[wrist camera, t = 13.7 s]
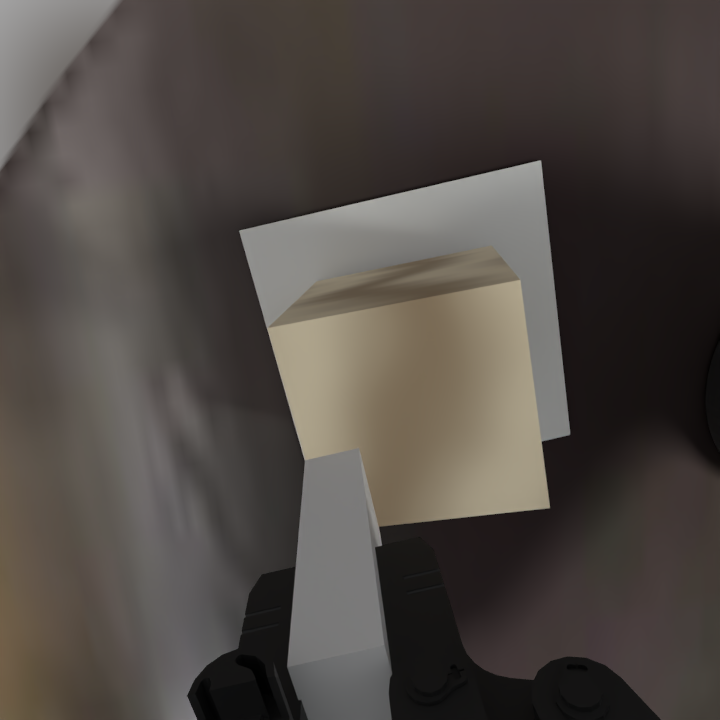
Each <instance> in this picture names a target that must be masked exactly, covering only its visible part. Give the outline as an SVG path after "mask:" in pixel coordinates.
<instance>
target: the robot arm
mask: <svg viewBox="0 0 720 720" xmlns="http://www.w3.org/2000/svg"><path fill="white" fill-rule="evenodd" d="M706 415H707V421H708V426H709V430H710V433H711V436H712V439H713V441H714V443H715V445H716V447H717V449H718V451H719V453H720V340H719V342H718V344H717V347H716V349H715V352H714V355H713V358H712V361H711V364H710V368H709V372H708V378H707V385H706ZM245 615H246V618H244V623H243V628H242V635H241V638H240V643H239V648H238V649H236V650H234V651H231V652H229V653H226V654H223V655H221V656H220V657H219V658H217V659H216V660H214V661H213V662H211V663H210V664H209V665H207V666H206V667H205V669H204V670H203V671H202V672H201V673H200V674H199V675H198V677H197V678H196V679H195V680H194V682H193V684H192V687H191V689H190V691H189V693H188V695H187V696H188V699H189V701H190V703H191V706H192V708H193V710H194V713H195V715H196V717H197V720H661V719H660V718H659V717H658V716H657V715H656V714H655V713H654V712H653V711H652V710H651V709H650V708H649V707H648V706H647V705H646V704H645V703H644V702H643V700H642V699H641V698H640V697H639V696H638V695H637V694H636V693H635V692H634V691H633V690H632V689H631V688H630V687H629V686H628V685H627V684H626V682H625V681H624V680H623V679H622V678H621V677H619V676H618V675H617V674H616V673H614V672H613V671H612V670H610V669H609V668H608V667H607V666H605V665H603V664H601V663H598V662H595V661H593V660H590V659H588V658H580V657H564V658H560V659H557V660H553V661H550V662H549V663H548V664H546V665H545V666H544V667H543V668H541V669H540V670H539V671H538V673H537V675H536V677H535V679H534V680H526V679H515V678H507V677H502V676H497V675H495V674H492V673H490V672H488V671H485V670H484V669H482V668H481V667H480V666H478V665H477V664H475V663H474V662H473V661H472V659H471V658H470V657H469V656H468V655H467V653H466V651H465V649H464V647H463V645H462V642H461V639H460V635H459V632H458V629H457V625H456V622H455V619H454V615H453V612H452V609H451V606H450V602H449V599H448V596H447V592H446V589H445V587H444V583H443V579H442V576H441V573H440V570H439V566H438V563H437V560H436V556H435V553H434V550H433V549H432V548H431V547H430V546H429V545H428V544H427V543H425V542H424V541H423V540H422V539H421V538H420V537H418V538H413V539H409V540H404V541H400V542H396V543H391V544H387V545H382V542H381V536H380V531H379V526H378V522H377V518H376V514H375V510H374V506H373V502H372V498H371V494H370V490H369V486H368V482H367V478H366V474H365V470H364V466H363V462H362V458H361V454H360V450H359V448H357V449H352V450H348V451H344V452H339V453H335V454H331V455H326V456H322V457H318V458H313V459H309V460H305V467H304V478H303V490H302V501H301V513H300V525H299V536H298V548H297V559H296V567H293V568H289V569H284V570H280V571H276V572H271V573H267V574H262V575H261V577H260V578H259V580H258V581H257V583H256V584H255V586H254V587H253V589H252V590H251V592H250V593H249V598H248V603H247V608H246V613H245Z"/></svg>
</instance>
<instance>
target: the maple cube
mask: <svg viewBox="0 0 720 720" xmlns="http://www.w3.org/2000/svg"><path fill="white" fill-rule="evenodd" d="M267 329H268V332H269V336H270V339H271V343H272V346H273V350H274V353H275V356H276V360H277V363H278V367H279V370H280V374H281V377H282V381H283V384H284V388H285V391H286V395H287V398H288V402H289V405H290V408H291V412H292V415H293V419H294V422H295V426H296V429H297V433H298V436H299V440H300V443H301V447H302V450H303V454H304V457H305V460H309V459H313V458H318V457H322V456H326V455H331V454H335V453H339V452H344V451H348V450H352V449H357V448H359V450H360V454H361V458H362V462H363V466H364V470H365V474H366V478H367V482H368V486H369V490H370V494H371V498H372V502H373V506H374V510H375V514H376V518H377V522H378V526H379V527H381V526H390V525H399V524H408V523H417V522H427V521H436V520H445V519H454V518H463V517H473V516H482V515H491V514H500V513H510V512H519V511H528V510H537V509H546V508H550V504H549V496H548V488H547V480H546V473H545V465H544V457H543V450H542V442H541V434H540V427H539V419H538V411H537V404H536V396H535V388H534V381H533V373H532V365H531V358H530V350H529V342H528V335H527V327H526V319H525V312H524V304H523V296H522V289H521V281H520V279H519V278H518V276H517V275H516V274H515V273H514V272H513V270H512V269H511V268H510V267H509V266H508V264H507V263H506V262H505V261H504V260H503V258H502V257H501V256H500V255H499V254H498V252H497V251H496V250H495V249H494V248H493V246H487V247H482V248H477V249H472V250H467V251H462V252H458V253H453V254H448V255H443V256H438V257H433V258H428V259H423V260H419V261H414V262H409V263H404V264H399V265H394V266H389V267H384V268H380V269H375V270H370V271H365V272H360V273H355V274H350V275H345V276H341V277H336V278H331V279H326V280H321V281H316V282H315V283H314V284H313V285H312V286H311V287H310V288H309V289H308V290H307V291H306V292H305V293H304V294H303V295H302V296H301V297H300V298H299V299H297V300H296V301H295V302H294V303H293V304H292V305H291V306H290V307H289V308H288V309H287V310H286V311H285V312H284V313H283V314H282V315H281V316H280V317H279V318H277V319H276V320H275V321H274V322H273V323H272V324H271V325H270V326H269V327H268V328H267Z"/></svg>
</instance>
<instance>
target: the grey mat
mask: <svg viewBox="0 0 720 720" xmlns="http://www.w3.org/2000/svg"><path fill="white" fill-rule="evenodd" d="M239 232H240V236H241V239H242V243H243V246H244V250H245V253H246V257H247V260H248V264H249V267H250V271H251V274H252V278H253V281H254V285H255V288H256V292H257V295H258V299H259V302H260V306H261V309H262V313H263V316H264V320H265V323H266V327H267V328H268V327H269V326H270V325H271V324H272V323H273V322H274V321H275V320H276V319H277V318H279V317H280V316H281V315H282V314H283V313H284V312H285V311H286V310H287V309H288V308H289V307H290V306H291V305H292V304H293V303H294V302H295V301H296V300H297V299H299V298H300V297H301V296H302V295H303V294H304V293H305V292H306V291H307V290H308V289H309V288H310V287H311V286H312V285H313V284H314V283H315V282H316V281H321V280H326V279H331V278H336V277H341V276H345V275H350V274H355V273H360V272H365V271H370V270H375V269H380V268H384V267H389V266H394V265H399V264H404V263H409V262H414V261H419V260H423V259H428V258H433V257H438V256H443V255H448V254H453V253H458V252H462V251H467V250H472V249H477V248H482V247H487V246H493V248H494V249H495V250H496V251H497V252H498V254H499V255H500V256H501V257H502V258H503V260H504V261H505V262H506V263H507V264H508V266H509V267H510V268H511V269H512V270H513V272H514V273H515V274H516V275H517V276H518V278H519V279H520V281H521V289H522V296H523V304H524V312H525V319H526V327H527V335H528V342H529V350H530V358H531V365H532V373H533V381H534V388H535V396H536V404H537V411H538V419H539V427H540V434H541V442H542V441H546V440H550V439H555V438H559V437H563V436H568V435H570V426H569V417H568V407H567V398H566V389H565V379H564V370H563V361H562V352H561V342H560V333H559V324H558V314H557V305H556V296H555V286H554V277H553V268H552V258H551V249H550V240H549V230H548V221H547V212H546V202H545V193H544V184H543V174H542V165H541V160H540V161H536V162H531V163H527V164H523V165H518V166H514V167H510V168H506V169H501V170H497V171H493V172H488V173H484V174H480V175H475V176H471V177H467V178H463V179H458V180H454V181H450V182H445V183H441V184H437V185H433V186H428V187H424V188H420V189H415V190H411V191H407V192H403V193H398V194H394V195H390V196H385V197H381V198H377V199H373V200H368V201H364V202H360V203H355V204H351V205H347V206H343V207H338V208H334V209H330V210H325V211H321V212H317V213H313V214H308V215H304V216H300V217H295V218H291V219H287V220H282V221H278V222H274V223H270V224H265V225H261V226H257V227H252V228H248V229H244V230H240V231H239ZM267 330H268V329H267ZM268 334H269V332H268ZM269 337H270V336H269ZM270 341H271V339H270ZM271 344H272V343H271ZM272 348H273V346H272ZM273 351H274V350H273ZM274 355H275V353H274ZM275 359H276V356H275ZM276 362H277V360H276ZM277 366H278V363H277ZM278 369H279V367H278ZM279 373H280V370H279ZM280 376H281V374H280ZM281 380H282V377H281ZM282 383H283V381H282ZM283 387H284V384H283ZM284 390H285V388H284ZM285 394H286V391H285ZM286 397H287V395H286ZM287 401H288V398H287ZM288 404H289V402H288ZM289 408H290V405H289ZM290 411H291V408H290ZM291 415H292V412H291ZM292 418H293V415H292ZM293 422H294V419H293ZM294 425H295V422H294ZM295 429H296V426H295ZM296 432H297V429H296ZM297 436H298V433H297ZM298 439H299V436H298ZM299 443H300V440H299ZM300 446H301V443H300ZM301 450H302V447H301ZM302 453H303V450H302ZM303 457H304V454H303ZM304 460H305V457H304Z"/></svg>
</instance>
